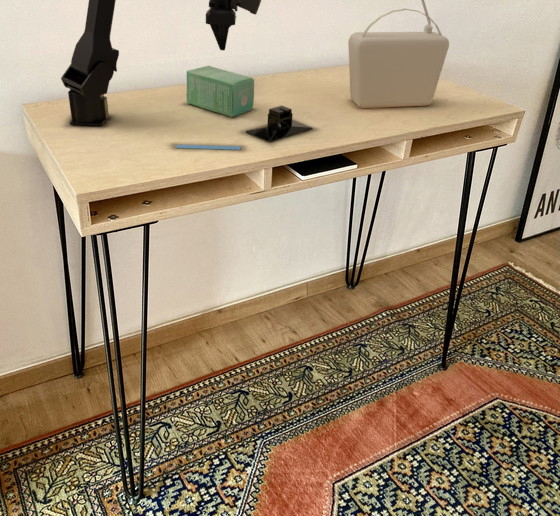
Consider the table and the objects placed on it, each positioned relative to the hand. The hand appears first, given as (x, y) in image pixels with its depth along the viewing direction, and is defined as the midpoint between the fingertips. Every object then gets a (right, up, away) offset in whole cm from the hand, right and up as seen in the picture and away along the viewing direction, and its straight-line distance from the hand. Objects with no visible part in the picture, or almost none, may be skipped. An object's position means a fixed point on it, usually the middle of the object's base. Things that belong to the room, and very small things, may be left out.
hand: (222, 50), depth 143 cm
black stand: (+13, -22, -16) cm, 30 cm away
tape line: (0, -27, -25) cm, 37 cm away
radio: (+39, -11, +3) cm, 41 cm away
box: (0, -15, -5) cm, 15 cm away
